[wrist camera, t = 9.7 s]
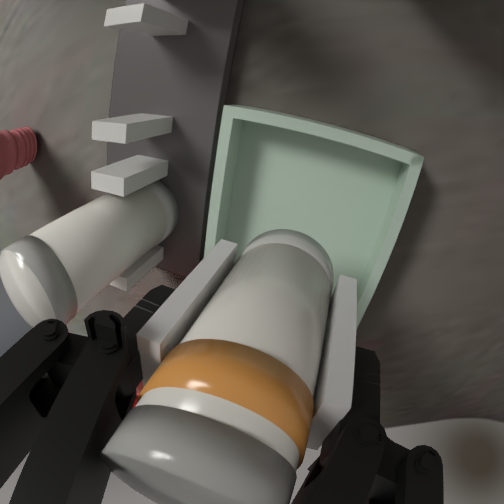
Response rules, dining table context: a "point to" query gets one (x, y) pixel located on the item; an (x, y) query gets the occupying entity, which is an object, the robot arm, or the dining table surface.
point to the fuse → (84, 252)
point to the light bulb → (16, 149)
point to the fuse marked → (235, 385)
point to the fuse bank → (168, 115)
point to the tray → (311, 189)
